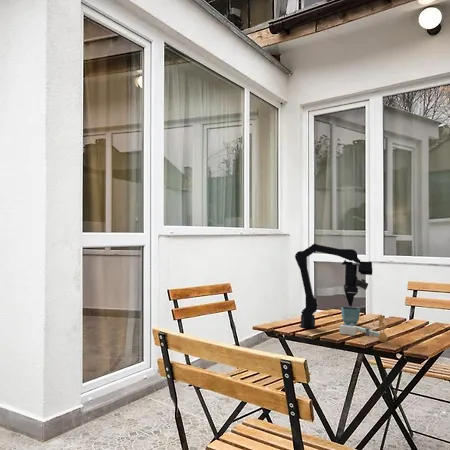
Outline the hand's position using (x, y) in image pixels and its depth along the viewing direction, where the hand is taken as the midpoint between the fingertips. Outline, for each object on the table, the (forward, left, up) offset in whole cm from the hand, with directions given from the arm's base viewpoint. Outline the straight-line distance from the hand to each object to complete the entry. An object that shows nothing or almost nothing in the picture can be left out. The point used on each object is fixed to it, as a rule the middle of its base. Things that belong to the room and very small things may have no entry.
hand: (350, 305), depth 236 cm
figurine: (-3, -26, -13) cm, 29 cm away
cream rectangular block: (-7, -7, -13) cm, 16 cm away
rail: (+2, -7, -13) cm, 15 cm away
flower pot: (+10, +13, -13) cm, 21 cm away
